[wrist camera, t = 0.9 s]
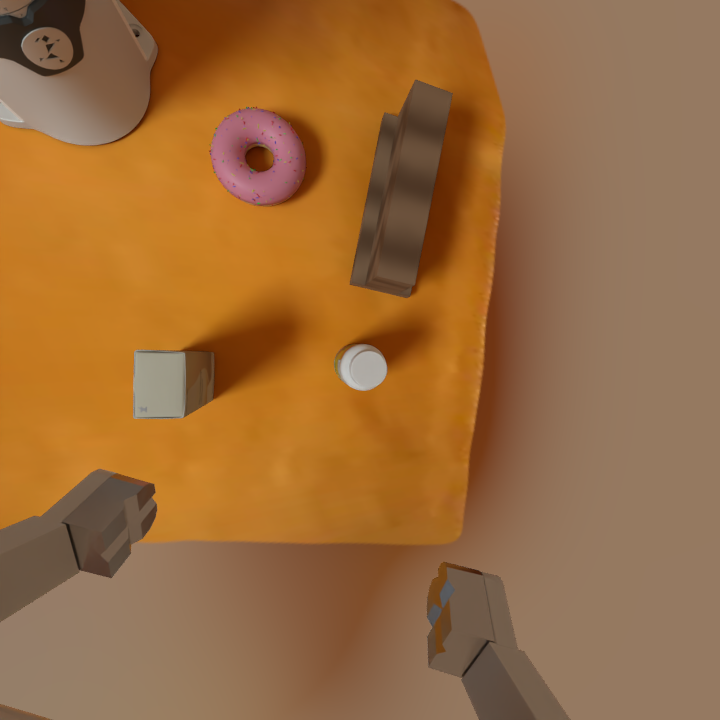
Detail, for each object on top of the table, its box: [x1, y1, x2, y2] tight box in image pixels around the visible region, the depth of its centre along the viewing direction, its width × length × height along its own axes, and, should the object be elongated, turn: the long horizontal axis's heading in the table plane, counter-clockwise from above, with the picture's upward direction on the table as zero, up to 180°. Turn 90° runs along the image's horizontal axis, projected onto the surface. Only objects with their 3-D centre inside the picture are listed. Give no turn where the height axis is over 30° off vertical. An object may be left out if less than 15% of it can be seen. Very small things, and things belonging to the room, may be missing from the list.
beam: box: [350, 80, 453, 298], centre depth 43 cm, size 22×8×8 cm, turn 169°
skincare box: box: [133, 350, 214, 419], centre depth 37 cm, size 6×4×12 cm
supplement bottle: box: [334, 344, 387, 391], centre depth 42 cm, size 5×5×10 cm
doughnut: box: [209, 107, 307, 206], centre depth 42 cm, size 11×11×4 cm
